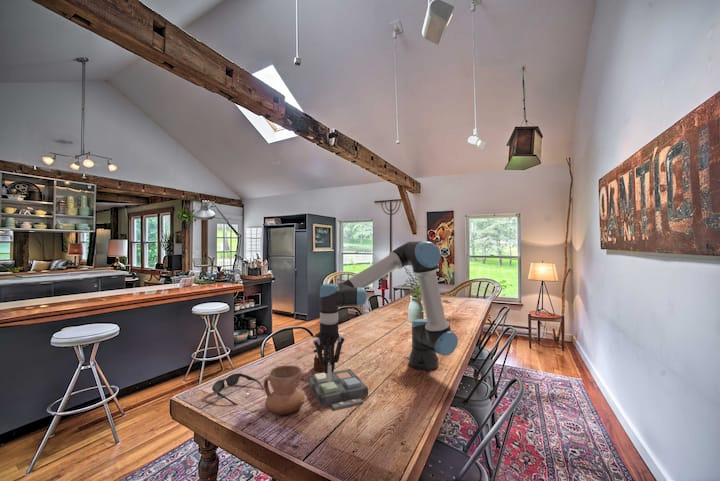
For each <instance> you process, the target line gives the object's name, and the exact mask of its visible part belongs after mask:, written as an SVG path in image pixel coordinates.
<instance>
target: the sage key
mask: <svg viewBox="0 0 720 481" xmlns="http://www.w3.org/2000/svg"><path fill="white" fill-rule="evenodd" d="M321 390H322V392H323V394H328V393H333V392H338V387H337V386H336V384H335V383H334V382H329V383H323V384H321Z"/></svg>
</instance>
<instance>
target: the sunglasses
mask: <svg viewBox="0 0 720 481" xmlns="http://www.w3.org/2000/svg"><path fill="white" fill-rule="evenodd" d="M240 378H245V379H246V380H248V381H254V382H255V383H257V384H258V385H259V386H260V388H261V390H262V391H265V389H264V386H263V385H262V383H261V382H260V381H259V380H258V379H256V378H254V377H252V376H249V375H247V374H244V373H241V372H239V373H233V374H232V373H231V374H230V375H229V376H227V377H225V378H224V379H223V378H222V379H220V380H217V381H216V382H215V383H214V384H213V385H212V387H211V390H212V391H213V394H214V395H217V396H218V397H221V398H224V399H225V400H227V401H228V402H230V403H231V404H232V405H235V406H239V404H237V403H236V402H234V401H233V400H231V399H229V398H228V397H226V396H225V395H224V394H223V393H221V391H222V390H224V389H225V387H226V385H227V386H228V387H232V386H234V385H237V384H238V383H239V379H240ZM225 382H226V384H225Z"/></svg>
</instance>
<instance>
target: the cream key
mask: <svg viewBox="0 0 720 481" xmlns="http://www.w3.org/2000/svg"><path fill="white" fill-rule="evenodd" d="M314 375H315V380H316V382H317V383H322V382H327V380H326V374H325V373H319V372H318V373H314Z"/></svg>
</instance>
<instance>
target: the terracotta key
mask: <svg viewBox="0 0 720 481" xmlns="http://www.w3.org/2000/svg"><path fill="white" fill-rule="evenodd" d="M336 375H337V376H338V378H339V379H343V378H348V377H352V376H351V375H350V374H349V373H348V372H343V373H338V374H336Z"/></svg>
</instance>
